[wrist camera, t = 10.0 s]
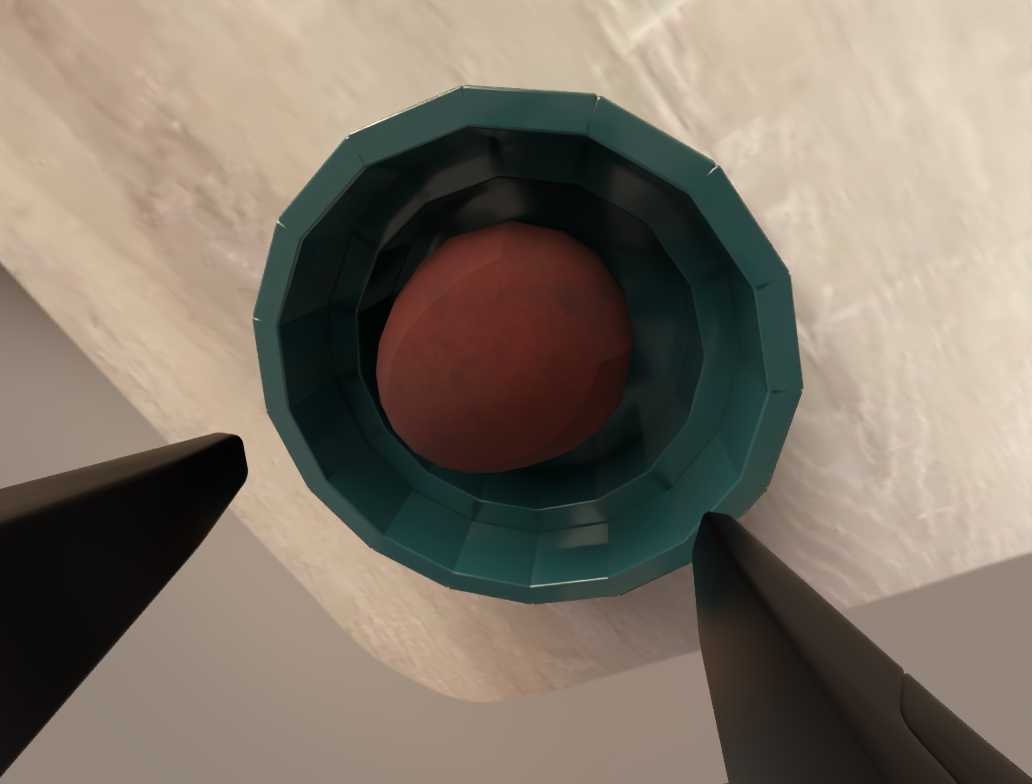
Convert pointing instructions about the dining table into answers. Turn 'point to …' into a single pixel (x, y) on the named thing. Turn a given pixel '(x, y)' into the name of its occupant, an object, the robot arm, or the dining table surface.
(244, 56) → the dining table surface
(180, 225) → the dining table surface
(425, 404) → the potato
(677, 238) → the bowl
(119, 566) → the robot arm
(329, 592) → the dining table surface
